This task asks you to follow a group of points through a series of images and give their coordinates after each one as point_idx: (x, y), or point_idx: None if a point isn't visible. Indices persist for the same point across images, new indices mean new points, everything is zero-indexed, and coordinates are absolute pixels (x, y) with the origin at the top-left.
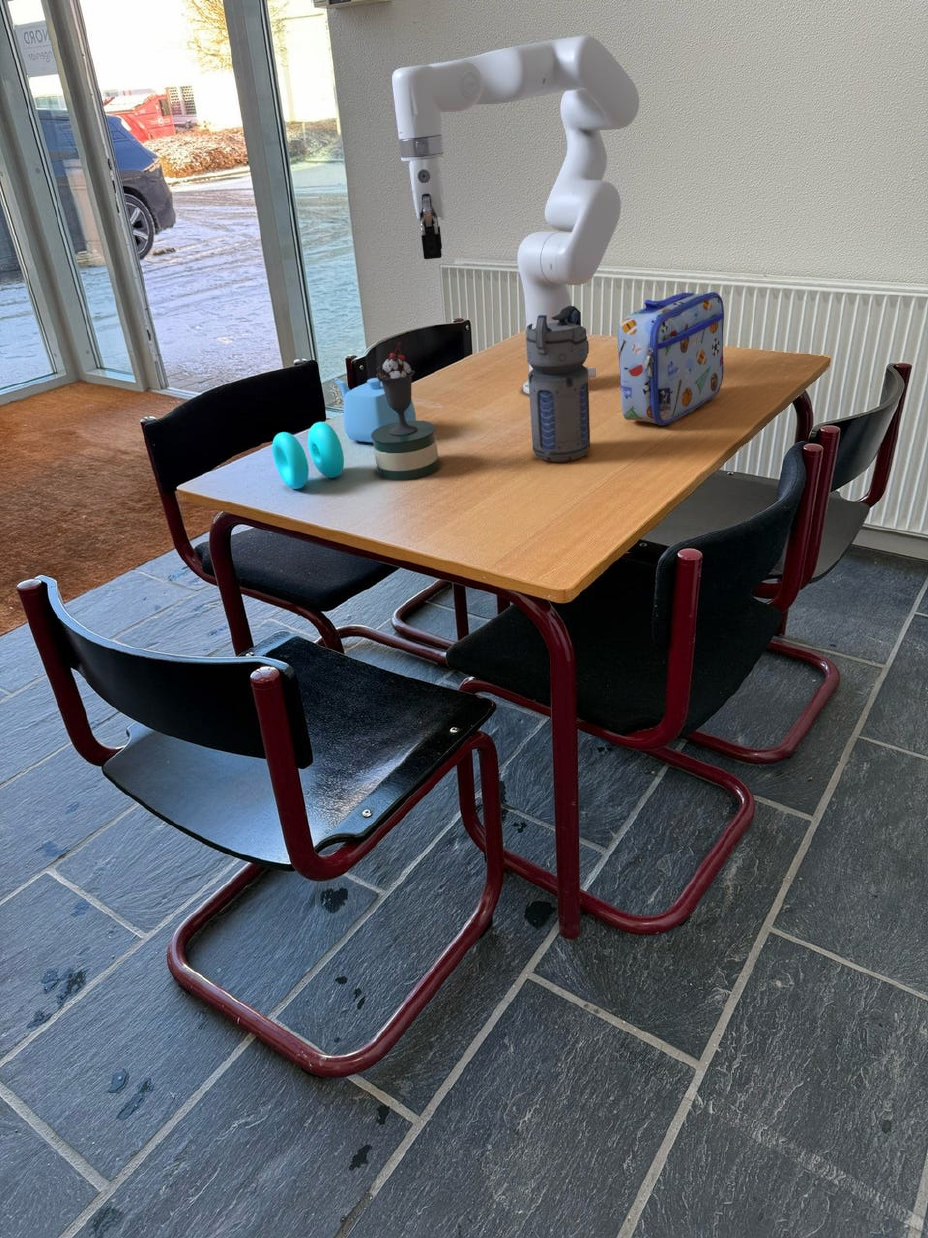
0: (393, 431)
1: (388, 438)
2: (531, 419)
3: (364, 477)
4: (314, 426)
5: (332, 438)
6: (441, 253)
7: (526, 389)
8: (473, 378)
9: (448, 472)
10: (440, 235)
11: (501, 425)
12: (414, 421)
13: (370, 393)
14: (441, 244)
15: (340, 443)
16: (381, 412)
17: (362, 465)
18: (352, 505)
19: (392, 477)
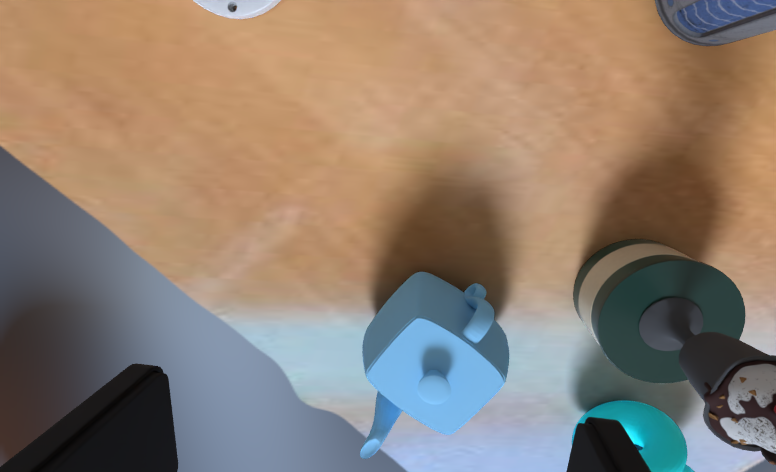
0: (679, 345)
1: None
2: (771, 29)
3: None
4: None
5: (685, 456)
6: (628, 435)
7: (259, 11)
8: (111, 127)
9: (689, 224)
10: (67, 441)
11: (459, 96)
12: (614, 298)
13: (472, 390)
14: (133, 382)
15: (671, 434)
16: (507, 356)
17: (573, 361)
18: None
19: None
